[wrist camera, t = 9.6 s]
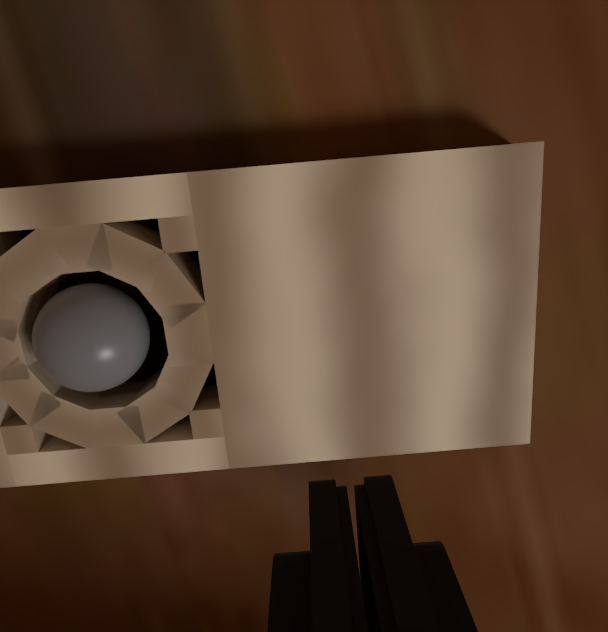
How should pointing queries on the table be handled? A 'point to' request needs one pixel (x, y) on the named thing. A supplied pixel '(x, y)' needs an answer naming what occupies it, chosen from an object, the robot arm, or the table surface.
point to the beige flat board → (283, 313)
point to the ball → (90, 337)
